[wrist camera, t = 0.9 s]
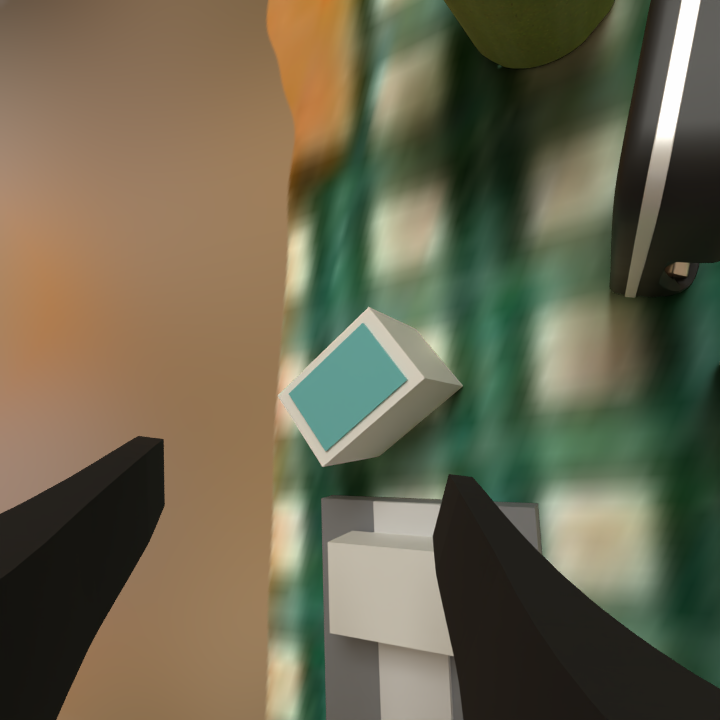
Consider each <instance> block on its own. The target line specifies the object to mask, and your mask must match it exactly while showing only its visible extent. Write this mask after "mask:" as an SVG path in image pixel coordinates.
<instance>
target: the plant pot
mask: <svg viewBox="0 0 720 720" xmlns="http://www.w3.org/2000/svg"><path fill="white" fill-rule="evenodd" d="M444 1H445V3H446V4H447V6H448V7H449V8H450V10H451V11H452V13H453V14H454V16H455V17H456V19H457V20H458V22H459V23H460V25H461V26H462V28H463V29H464V31H465V32H466V34H467V35H468V37H469V38H470V39H471V41H472V42H473V44H474V45H475V47H476V48H477V49H478V51H479V52H480V53H481V54H482V55H484V56H485V57H486V58H488V59H490V60H491V61H493V62H495V63H497V64H499V65H501V66H503V67H507V68H531V67H536V66H541V65H544V64H547V63H550V62H552V61H555V60H557V59H559V58H561V57H563V56H565V55H566V54H568V53H570V52H571V51H573V50H574V49H576V48H577V47H578V46H579V45H581V44H582V43H583V42H584V41H585V40H586V39H587V37H588V36H589V35H590V34H591V33H592V31H593V30H594V29H595V28H596V27H597V25H598V24H599V23H600V22H601V21H602V19H603V18H604V17H605V16H606V15H607V14H608V12H609V11H610V9H611V7H612V5H613V3H614V1H615V0H444Z"/></svg>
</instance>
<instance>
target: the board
mask: <svg viewBox="0 0 720 720" xmlns="http://www.w3.org/2000/svg"><path fill="white" fill-rule="evenodd" d="M441 502H442V500H440V499H416V498H391V497H366V496H342V495H331V496H328V497H324V498H321V504H322V548H323V593H324V638H325V682H326V720H463V713H462V705H461V696H460V688H459V681H458V676H457V670H456V665H455V660H454V655H453V651H452V646H451V642H450V637H449V632H448V628H447V623H446V619H445V614H444V610H443V605H442V601H441V596H440V591H439V587H438V582H437V577H436V570H435V560H434V548H433V533H434V529H435V525H436V521H437V517H438V514H439V510H440V506H441ZM494 503H495V504H496V505H497V506H498V507H499V509H500V510H501V511H502V512H503V513H504V514H505V516H506V517H507V518H508V519H509V520H510V521H511V522H512V524H513V525H514V526H515V527H516V528H517V529H518V530H519V531H520V532H521V534H522V535H523V536H524V537H525V538H526V539H527V540H528V541H529V542H530V543H531V544H532V545H533V546H534V547H535V548H536V549H537V550H538V551H539V552H540V553H541V554H542V546H541V533H540V521H539V509H538V503H514V502H494Z"/></svg>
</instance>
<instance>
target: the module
mask: <svg viewBox="0 0 720 720" xmlns="http://www.w3.org/2000/svg"><path fill="white" fill-rule="evenodd" d="M462 387H463V385H462V384H461V383H460V382H459V380H458V379H457V378H456V377H455V376H454V374H453V373H452V372H451V371H450V369H449V368H448V367H447V366H446V365H445V363H444V362H443V361H442V360H441V358H440V357H439V356H438V355H437V354H436V352H435V351H434V350H433V349H432V347H431V346H430V345H429V344H428V343H427V341H426V340H425V339H424V338H423V337H422V335H421V334H420V333H419V332H418V330H417V329H415V328H413V327H411V326H409V325H406V324H404V323H402V322H400V321H398V320H396V319H393V318H391V317H389V316H387V315H385V314H383V313H381V312H378V311H376V310H374V309H372V308H370V307H368V308H367V309H366V310H365V311H364V312H363V313H362V314H361V315H360V316H359V317H358V318H357V319H356V320H355V321H354V322H353V323H352V324H351V325H350V326H349V327H348V328H347V329H346V330H345V331H344V332H343V333H342V334H341V335H340V336H338V337H337V338H336V339H335V340H334V341H333V342H332V343H331V344H330V345H329V346H328V347H327V348H326V349H325V350H324V351H323V352H322V353H321V354H320V355H319V356H318V357H317V358H316V359H315V360H314V361H313V362H312V363H311V364H310V365H309V366H307V367H306V368H305V369H304V370H303V371H302V372H301V373H300V374H299V375H298V376H297V377H296V378H295V379H294V380H293V381H292V382H291V383H290V384H289V385H288V386H287V387H286V388H285V389H284V390H283V391H282V392H281V393H280V394H279V395H278V397H279V399H280V400H281V402H282V403H283V405H284V407H285V408H286V410H287V411H288V413H289V414H290V416H291V418H292V419H293V421H294V422H295V424H296V426H297V427H298V429H299V430H300V432H301V433H302V435H303V437H304V438H305V440H306V441H307V443H308V445H309V446H310V448H311V449H312V451H313V453H314V454H315V456H316V457H317V459H318V460H319V462H320V464H321V465H322V467H325V466H331V465H336V464H341V463H347V462H352V461H358V460H363V459H368V458H374V457H379V456H380V455H382V454H383V453H384V452H385V451H386V450H388V449H389V448H390V447H391V446H392V445H394V444H395V443H396V442H397V441H398V440H399V439H401V438H402V437H403V436H404V435H405V434H407V433H408V432H409V431H410V430H411V429H413V428H414V427H415V426H416V425H417V424H419V423H420V422H421V421H422V420H423V419H425V418H426V417H427V416H428V415H429V414H431V413H432V412H433V411H434V410H435V409H436V408H438V407H439V406H440V405H441V404H442V403H444V402H445V401H446V400H447V399H448V398H450V397H451V396H452V395H453V394H454V393H456V392H457V391H458V390H459V389H460V388H462Z"/></svg>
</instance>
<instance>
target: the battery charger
mask: <svg viewBox="0 0 720 720" xmlns="http://www.w3.org/2000/svg"><path fill="white" fill-rule="evenodd" d="M718 261H720V0H651V3H650V7H649V12H648V17H647V23H646V28H645V33H644V38H643V43H642V48H641V53H640V58H639V63H638V68H637V73H636V79H635V84H634V89H633V94H632V99H631V104H630V110H629V115H628V120H627V125H626V130H625V136H624V141H623V146H622V152H621V157H620V163H619V168H618V174H617V181H616V188H615V196H614V206H613V221H612V240H611V272H610V290H611V291H612V292H613V293H616V294H622V295H625V297H633V298H635V297H636V296H643V297H661V296H670V295H674V294H677V293H680V292H682V291H684V290H685V289H687V288H688V287H689V286H690V285H691V284H692V282H693V281H694V279H695V277H696V274H697V271H698V267H699V263H714V262H718Z"/></svg>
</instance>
